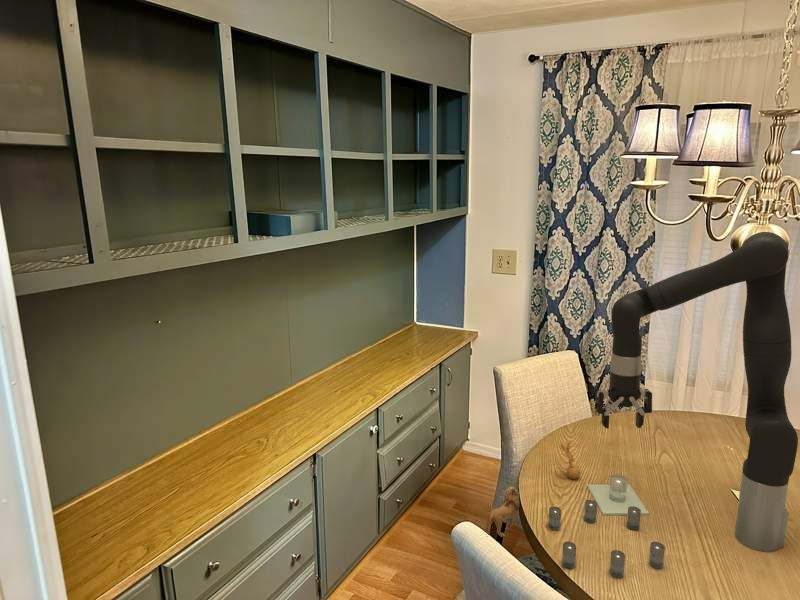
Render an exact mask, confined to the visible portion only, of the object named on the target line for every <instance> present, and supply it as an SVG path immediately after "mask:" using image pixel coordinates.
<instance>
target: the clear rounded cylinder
mask: <svg viewBox="0 0 800 600" xmlns="http://www.w3.org/2000/svg"><path fill="white" fill-rule="evenodd" d="M627 484H628V478H627V477H626V476H624V475H622V474H611V475H610V477H609V485H610V487H609V499H610V500H612V501H614V502H617V503H623V502H625V501H626V491H627Z"/></svg>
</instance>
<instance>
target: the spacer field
mask: <svg viewBox="0 0 800 600" xmlns="http://www.w3.org/2000/svg"><path fill="white" fill-rule="evenodd" d="M583 513H584V515H583V520H584V521H585V523H587V524H596V522H597V513H598V505H597V502H596V501H595V500H594V499H586V500H585V501H584V511H583ZM641 516H642V515H641V510H640V509H639V508H637V507H634V506H630V507H629V508H628V515H626V517H627V518H626V519H627V520H626V528H627V529H629V530H631V531H633V532H637V531H639V530H640V528H641V527H640V525H641ZM561 524H562V509H561V508H560V507H558V506H554V505H553V506H550V507H549V508H548V528H549V530H551V531H554V532H557V531H560V530H561ZM649 545H650V546H649V558H648V564H649V566H650V567H651V568H652V569H655V570H662V569H663V568H664V564H665V563H664V561H665V551H666V550H665V549H666V547H665V545H664V544H663V543H661V542H659V541H652V542H651V543H650V544H649ZM576 559H577V545H576V544H575V543H574V542H572V541H564V542H563V543H562V557H561V565H562V567H564V568H565V569H568V570H573V569H575V568H576V562H577V560H576ZM625 565H626V554H625V553H624V552H623V551H621V550H617V549H615V550H612V551H610V562H609V574H610V576H611V577H613V578H614V579H618V580H619V579H623V578H624V576H625Z"/></svg>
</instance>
